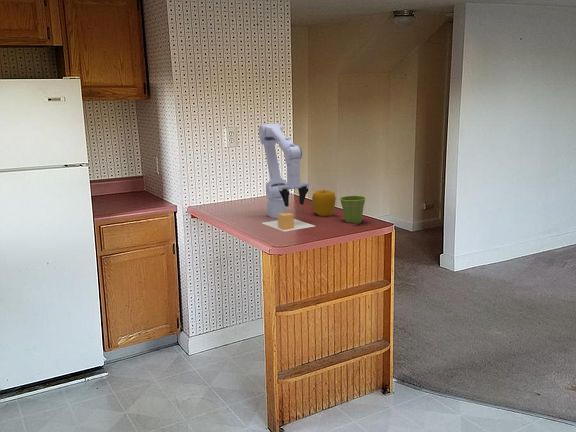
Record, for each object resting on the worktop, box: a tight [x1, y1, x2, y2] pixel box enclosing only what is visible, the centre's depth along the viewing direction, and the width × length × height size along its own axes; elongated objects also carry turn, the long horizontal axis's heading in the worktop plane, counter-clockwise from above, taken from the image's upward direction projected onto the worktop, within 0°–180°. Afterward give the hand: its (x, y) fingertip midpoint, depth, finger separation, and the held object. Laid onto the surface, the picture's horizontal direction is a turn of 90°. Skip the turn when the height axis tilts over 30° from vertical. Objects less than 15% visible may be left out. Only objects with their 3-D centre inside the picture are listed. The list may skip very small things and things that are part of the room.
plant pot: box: [339, 195, 367, 225], centre depth 255 cm, size 12×12×11 cm
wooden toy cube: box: [277, 211, 295, 230], centre depth 245 cm, size 5×5×6 cm
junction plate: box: [261, 218, 315, 232], centre depth 252 cm, size 20×16×4 cm
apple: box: [311, 189, 337, 217], centre depth 268 cm, size 11×11×13 cm
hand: (294, 205), depth 251 cm, fingers open, 7 cm apart
